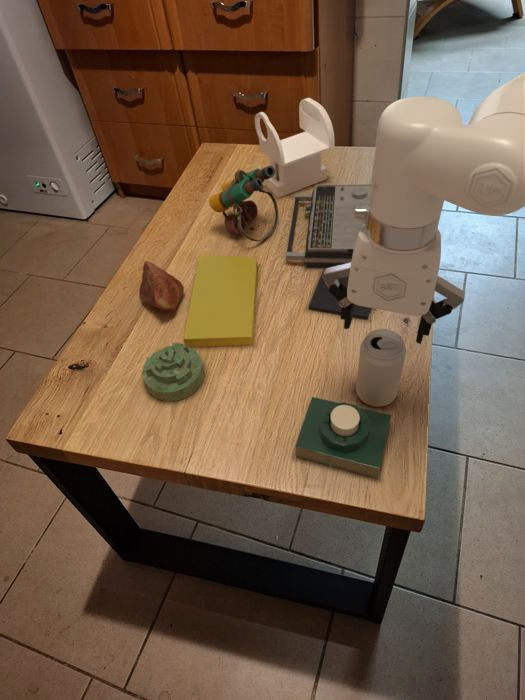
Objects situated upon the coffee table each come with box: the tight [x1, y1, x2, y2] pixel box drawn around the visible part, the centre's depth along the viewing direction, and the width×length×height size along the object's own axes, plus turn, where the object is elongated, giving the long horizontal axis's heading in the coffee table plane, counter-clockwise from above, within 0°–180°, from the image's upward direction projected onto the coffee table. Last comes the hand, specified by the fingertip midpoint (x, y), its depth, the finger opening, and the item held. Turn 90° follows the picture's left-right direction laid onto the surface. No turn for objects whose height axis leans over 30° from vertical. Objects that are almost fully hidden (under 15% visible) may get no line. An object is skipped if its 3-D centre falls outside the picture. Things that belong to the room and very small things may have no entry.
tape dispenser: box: [254, 97, 336, 199], centre depth 113 cm, size 14×13×18 cm
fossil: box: [138, 260, 185, 311], centre depth 93 cm, size 13×8×10 cm
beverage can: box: [355, 328, 407, 408], centre depth 72 cm, size 6×6×12 cm
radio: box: [285, 183, 371, 269], centre depth 103 cm, size 24×5×20 cm
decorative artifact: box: [141, 342, 205, 402], centre depth 80 cm, size 10×7×10 cm
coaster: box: [308, 268, 372, 321], centre depth 92 cm, size 11×11×1 cm
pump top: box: [330, 405, 360, 437], centre depth 68 cm, size 4×4×2 cm
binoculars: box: [208, 165, 279, 242], centre depth 103 cm, size 14×14×15 cm
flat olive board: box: [183, 253, 259, 348], centre depth 93 cm, size 12×2×24 cm
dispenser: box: [294, 396, 392, 479], centre depth 70 cm, size 12×9×5 cm
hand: (383, 328), depth 66 cm, fingers open, 9 cm apart
